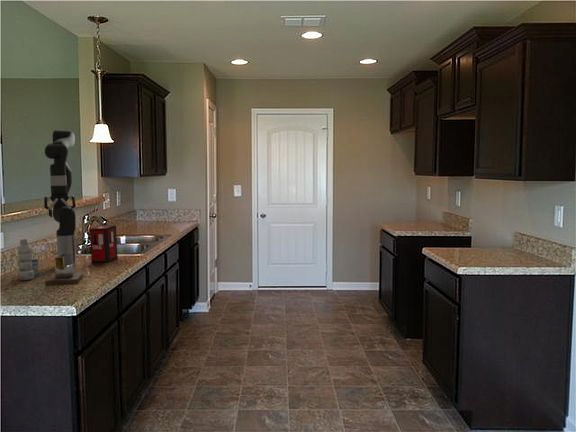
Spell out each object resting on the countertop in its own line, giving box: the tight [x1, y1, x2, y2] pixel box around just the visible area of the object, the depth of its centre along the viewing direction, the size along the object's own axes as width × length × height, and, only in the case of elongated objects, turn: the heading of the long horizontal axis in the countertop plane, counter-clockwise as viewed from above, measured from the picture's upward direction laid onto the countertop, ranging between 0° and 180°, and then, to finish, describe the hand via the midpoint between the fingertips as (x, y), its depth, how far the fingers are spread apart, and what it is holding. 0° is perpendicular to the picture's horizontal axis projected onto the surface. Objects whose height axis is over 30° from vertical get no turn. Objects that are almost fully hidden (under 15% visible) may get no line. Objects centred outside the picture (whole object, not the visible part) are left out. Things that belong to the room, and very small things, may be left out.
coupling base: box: [45, 272, 84, 286], centre depth 240 cm, size 14×14×2 cm
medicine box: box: [17, 258, 40, 278], centre depth 250 cm, size 8×4×9 cm, turn 149°
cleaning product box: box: [89, 225, 118, 265], centre depth 290 cm, size 16×9×20 cm, turn 179°
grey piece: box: [54, 254, 75, 278], centre depth 239 cm, size 10×8×10 cm
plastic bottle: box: [17, 238, 34, 281], centre depth 242 cm, size 6×7×20 cm
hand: (60, 216), depth 250 cm, fingers open, 8 cm apart
